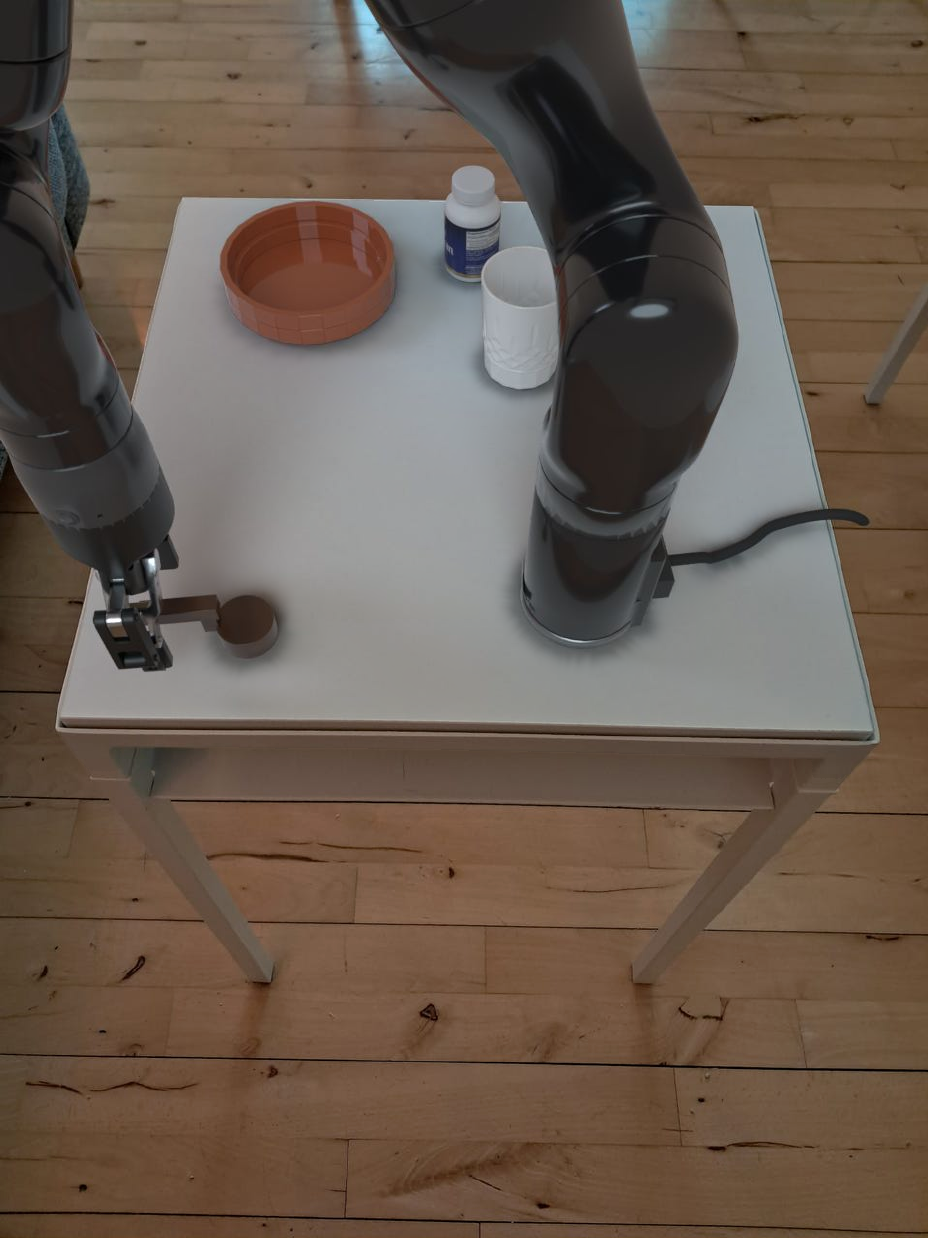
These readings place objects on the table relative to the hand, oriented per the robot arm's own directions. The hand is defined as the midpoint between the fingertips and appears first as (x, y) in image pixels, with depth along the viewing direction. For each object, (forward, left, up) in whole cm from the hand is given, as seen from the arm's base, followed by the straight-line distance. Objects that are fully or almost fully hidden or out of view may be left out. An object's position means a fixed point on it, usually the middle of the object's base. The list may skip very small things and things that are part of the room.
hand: (162, 613), depth 69 cm
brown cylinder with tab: (-3, 0, -4) cm, 5 cm away
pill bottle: (-28, -40, -4) cm, 49 cm away
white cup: (-31, -26, -4) cm, 41 cm away
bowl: (-12, -38, -4) cm, 40 cm away
